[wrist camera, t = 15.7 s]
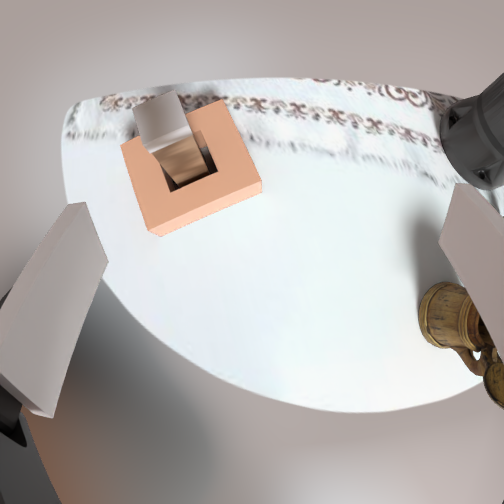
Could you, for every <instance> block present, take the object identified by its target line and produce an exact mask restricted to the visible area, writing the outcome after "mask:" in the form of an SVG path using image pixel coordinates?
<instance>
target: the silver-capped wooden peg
mask: <svg viewBox="0 0 504 504" xmlns="http://www.w3.org/2000/svg"><path fill="white" fill-rule="evenodd" d="M132 110H133V114H134V117H135V121H136V124H137V127H138V131H139V134H140V138H141V141H142V144H143V146H144V147H145V148H146V149H147V151H148V152H149V153H152V154H153V156H154V157H155V158H156V159H157V161H158V162H159V163H160V164H161V165H162V167H163V168H164V169H165V170H166V172H167V173H168V174H169V175H170V176H171V178H172V179H173V180H174V181H175V182H176V184H177V185H178V186H179V187H180V188H182V187H184V186H186V185H189V184H191V183H193V182H195V181H198V180H200V179H202V178H204V177H207V176H209V175H210V172H209V170H208V167H207V165H206V162H205V159H204V157H203V154H202V152H201V150H200V148H199V145H198V143H197V141H196V139H195V136H194V134H193V132H192V130H191V127H190V125H189V123H188V120H187V118H186V115H185V113H184V110H183V107H182V105H181V102H180V100H179V97H178V95H177V93H176V90H175V89H174V90H172V91H169V92H167V93H165V94H162V95H160V96H158V97H155V98H153V99H151V100H149V101H146V102H144V103H142V104H140V105H138V106H136V107H134V108H132Z"/></svg>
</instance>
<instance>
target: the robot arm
mask: <svg viewBox="0 0 504 504" xmlns="http://www.w3.org/2000/svg"><path fill="white" fill-rule="evenodd" d="M440 135H441V140H442V144H443V147H444V150H445V152H446V155H447V157H448V159H449V160H450V162H451V164H452V165H453V167H454V168H455V170H456V171H457V172H458V173H459V174H460V175H461V176H462V177H463V178H464V179H465V180H466V181H467V182H468V183H470V184H463V183H456V184H455V188H454V191H453V195H452V199H451V202H450V206H449V209H448V213H447V216H446V219H445V223H444V226H443V229H442V232H441V235H440V238H439V241H438V244H439V246H440V247H441V249H442V250H443V252H444V253H445V255H446V257H447V258H448V260H449V261H450V263H451V265H452V266H453V268H454V270H455V271H456V273H457V275H458V276H459V278H460V280H461V281H462V283H463V285H464V287H465V288H466V290H467V292H468V294H469V295H470V297H471V299H472V301H473V303H474V305H475V306H476V308H477V310H478V312H479V314H480V316H481V318H482V320H483V322H484V324H485V326H486V328H487V330H488V332H489V334H490V336H491V338H492V340H493V342H494V344H495V346H496V348H497V351H498V353H499V355H500V357H501V360H502V362H503V364H504V218H503V217H502V216H501V215H500V214H499V213H498V212H497V211H496V210H495V208H494V207H493V206H492V205H491V204H490V203H489V202H488V201H487V200H486V199H485V198H484V197H483V196H482V195H481V194H480V193H479V192H478V191H477V190H476V189H475V188H474V187H473V186H475V187H477V188H479V189H482V190H493V189H496V188H498V187H501V186H503V185H504V73H503V74H502V75H500V76H499V77H498V78H497V79H496V80H495V81H494V82H493V83H492V84H491V85H490V86H488V87H487V88H486V89H485V90H484V91H483V92H482V93H481V94H480V95H477V96H473V97H470V98H467V99H463V100H460V101H457V102H455V103H454V104H453V105H451V106H450V107H449V108H448V109H447V110H446V111H445V113H444V114H443V116H442V119H441V123H440ZM472 185H473V186H472ZM108 262H109V261H108V259H107V256H106V254H105V252H104V249H103V247H102V244H101V242H100V239H99V237H98V234H97V232H96V229H95V226H94V224H93V221H92V219H91V216H90V213H89V210H88V208H87V205H86V202H81V203H74V204H68V205H67V207H66V208H65V209H64V211H63V212H62V213H61V215H60V216H59V218H58V219H57V220H56V222H55V223H54V224H53V226H52V227H51V229H50V230H49V232H48V233H47V235H46V236H45V237H44V239H43V240H42V242H41V243H40V245H39V246H38V248H37V249H36V251H35V252H34V254H33V255H32V257H31V258H30V260H29V261H28V263H27V264H26V266H25V268H24V269H23V271H22V272H21V274H20V276H19V277H18V279H17V281H16V282H15V284H14V286H13V287H12V288H11V289H10V290H9V291H8V293H7V294H6V295H5V296H4V297H3V298H2V299H1V301H0V504H62V503H61V501H60V500H59V498H58V496H57V494H56V492H55V489H54V487H53V485H52V484H51V481H50V479H49V477H48V475H47V472H46V470H45V468H44V465H43V463H42V461H41V458H40V456H39V453H38V451H37V448H36V446H35V443H34V440H33V438H32V435H31V432H30V429H29V426H28V423H27V420H26V418H25V416H24V415H23V413H21V412H20V410H21V407H22V405H24V406H25V407H26V408H27V409H28V410H30V411H31V412H32V413H33V414H37V415H41V416H45V417H49V418H53V416H54V412H55V408H56V404H57V401H58V397H59V394H60V391H61V387H62V384H63V381H64V378H65V375H66V371H67V368H68V365H69V362H70V359H71V356H72V353H73V350H74V347H75V345H76V342H77V339H78V336H79V333H80V331H81V328H82V325H83V323H84V320H85V317H86V315H87V312H88V309H89V307H90V305H91V301H92V300H93V297H94V295H95V292H96V290H97V287H98V285H99V283H100V280H101V278H102V276H103V273H104V271H105V269H106V266H107V264H108ZM502 504H504V501H503V503H502Z"/></svg>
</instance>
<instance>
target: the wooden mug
mask: <svg viewBox="0 0 504 504" xmlns="http://www.w3.org/2000/svg"><path fill="white" fill-rule="evenodd" d="M419 324H420V328H421V331H422V334H423V336H424V337H425V339H426V340H427V342H429V343H431V344H432V345H434V346H436V347H439V348H451V349H453V350H455V351H456V352H457V353H458V354H459V356H460V357H461V359H462V360H463V362H464V363H465V365H466V366H467V367H468V368H469V370H470V371H471V372H473V373H474V374H475V375H478V376H483V382H484V386H485V389H486V391H487V393H488V395H489V397H490V398H491V400H493V401H494V403H495V404H497V405H498V406H499V407H500V408H502V409H503V410H504V364H503V362H502V360H501V358H500V356H499V354H498V352H497V348H496V346H495V344H494V342H493V340H492V338H491V336H490V334H489V332H488V330H487V328H486V326H485V324H484V322H483V320H482V318H481V316H480V314H479V312H478V310H477V308H476V306H475V305H474V303H473V301H472V299H471V297H470V295H469V294H468V292H467V290H466V288H464V287H462V286H460V285H458V284H454V283H450V282H441V283H439V284H436V285H434V286H433V287H432V288H430V289H429V290H428V292H427V293H426V294H425V295H424V297H423V299H422V301H421V304H420V308H419ZM473 351H475V352H480V351H481V356H480V359H479V360H476V359H475V357H474V356H473Z"/></svg>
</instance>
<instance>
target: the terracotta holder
mask: <svg viewBox="0 0 504 504" xmlns="http://www.w3.org/2000/svg"><path fill="white" fill-rule="evenodd" d="M185 115H186V118H187V120H188V123H189V125H190V127H191V130H192V132H193V134H194V136H195V139H196V141H197V143H198V145H199V148H200V149H201V148H204V147H206V146H207V148H208V150H209V152H210V155H211V157H212V159H213V162H214V164H215V166H216V169H217V171H218V172H216V173H214V174H211V175H209V176H207V177H204V178H202V179H200V180H198V181H195V182H193V183H191V184H189V185H186V186H184V187H182V188H180V189H178V190H175V187H174V185H173V182H172V179H171V177H170V175H169V174H168V173H167V172H166V170H165V169H164V168H163V167H162V165H161V164H160V163H159V162H158V161H157V159H156V158H155V157H154V156H153V154H152V153H149V152H148V151H147V149H146V148H145V147H144V146H143V144H142V141H141V138H140V135H139V136H137V137H135V138H133V139H131V140H129V141H127V142H125V143H123V144H122V145H120V146H121V150H122V153H123V157H124V160H125V163H126V166H127V170H128V173H129V176H130V179H131V182H132V185H133V189H134V192H135V195H136V198H137V201H138V204H139V207H140V210H141V212H142V215H143V218H144V221H145V224H146V227H147V230H148V231H150V232H152V233H154V234H156V235H158V236H160V237H162V236H164V235H166V234H168V233H170V232H172V231H175V230H177V229H179V228H181V227H184V226H186V225H188V224H190V223H192V222H195V221H197V220H199V219H201V218H204V217H206V216H208V215H211V214H213V213H215V212H217V211H220V210H222V209H224V208H227V207H229V206H231V205H234V204H236V203H238V202H241V201H243V200H246V199H248V198H250V197H253V196H255V195H257V194H260V193H262V180H261V178H260V176H259V174H258V172H257V170H256V167H255V165H254V163H253V161H252V159H251V157H250V155H249V153H248V151H247V148H246V146H245V144H244V142H243V140H242V138H241V136H240V134H239V132H238V130H237V128H236V126H235V124H234V122H233V120H232V117H231V115H230V113H229V111H228V109H227V107H226V105H225V103H224V101H223V99H221V100H219V101H216V102H214V103H211V104H209V105H206V106H204V107H201V108H199V109H196V110H194V111H192V112H189V113H187V114H185Z"/></svg>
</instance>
